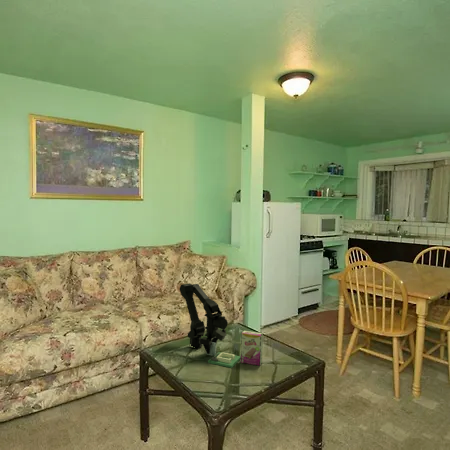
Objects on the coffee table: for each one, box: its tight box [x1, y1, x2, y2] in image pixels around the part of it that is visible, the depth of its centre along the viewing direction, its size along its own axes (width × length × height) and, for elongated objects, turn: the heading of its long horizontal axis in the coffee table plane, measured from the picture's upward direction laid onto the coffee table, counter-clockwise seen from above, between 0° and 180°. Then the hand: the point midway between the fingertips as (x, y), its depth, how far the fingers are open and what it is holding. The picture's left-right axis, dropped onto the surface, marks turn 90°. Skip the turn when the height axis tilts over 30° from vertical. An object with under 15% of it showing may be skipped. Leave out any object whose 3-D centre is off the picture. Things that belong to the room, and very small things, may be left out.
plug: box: [205, 342, 217, 357], centre depth 183 cm, size 5×4×6 cm
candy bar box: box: [240, 330, 264, 367], centre depth 172 cm, size 11×5×16 cm, turn 71°
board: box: [207, 351, 241, 369], centre depth 174 cm, size 14×13×3 cm
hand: (210, 351), depth 183 cm, fingers open, 7 cm apart
